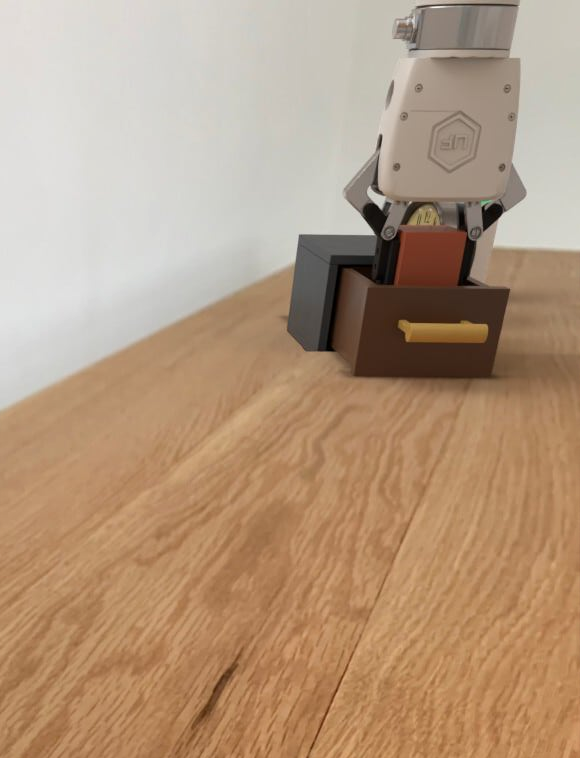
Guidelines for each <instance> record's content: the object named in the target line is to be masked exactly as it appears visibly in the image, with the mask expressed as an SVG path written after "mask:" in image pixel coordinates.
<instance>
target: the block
mask: <svg viewBox="0 0 580 758" xmlns="http://www.w3.org/2000/svg"><path fill="white" fill-rule="evenodd" d="M397 232H398V236H397V240H399V241H400V248H399V254H398V261H397V267H396V273H395V279H394V285H425V286H457V284H458V279H459V274H460V268H461V263H462V258H463V253H464V247H465V242H466V237H467V232H465V231H462V230H459V229H456V228H454V227H451V226H448V225H400V226H399V229H398V231H397Z"/></svg>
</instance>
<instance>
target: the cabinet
mask: <svg viewBox="0 0 580 758" xmlns="http://www.w3.org/2000/svg"><path fill="white" fill-rule="evenodd" d="M376 242H377V236H376V235H375V234H312V233H311V234H309V233H308V234H306V233H304V234H303V233H302V234H301V233H299V234H298V239H297V247H296V254H295V261H294V269H293V277H292V286H291V287H292V288H291V294H290V302H289V310H288V320H287V326H286V331H287V332H288V333H289V334H290V335H291V336H292V337H293V338H294V340H295V341H297V343H298V344H299V345H300V346H301V347H302V348H303V349H304V350H305V351H306V352H312V353H313V352H318V353H319V352H323V353H324V352H325V353H326V352H327V353H337V352H336V351H335V350H334V349H333V348H332V347H331V346H330V345H329V344H328V337H329V330H330V323H331V316H332V310H333V303H334V296H335V289H336V282H337V275H338V268H339V265H355V266H373V262H374V255H375V249H376ZM472 262H473V256H472V260H471V265H470V270H469V275H468V276H470V272H471V266H472Z"/></svg>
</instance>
